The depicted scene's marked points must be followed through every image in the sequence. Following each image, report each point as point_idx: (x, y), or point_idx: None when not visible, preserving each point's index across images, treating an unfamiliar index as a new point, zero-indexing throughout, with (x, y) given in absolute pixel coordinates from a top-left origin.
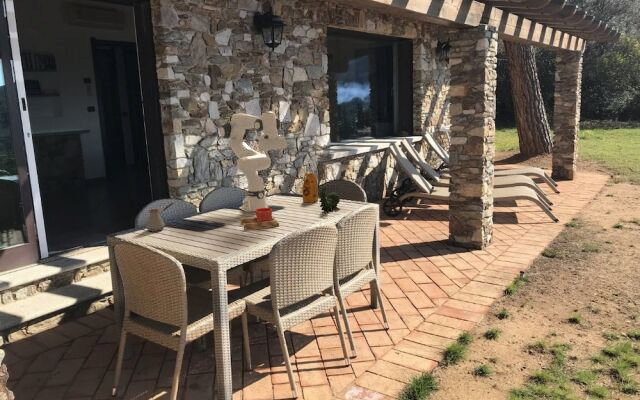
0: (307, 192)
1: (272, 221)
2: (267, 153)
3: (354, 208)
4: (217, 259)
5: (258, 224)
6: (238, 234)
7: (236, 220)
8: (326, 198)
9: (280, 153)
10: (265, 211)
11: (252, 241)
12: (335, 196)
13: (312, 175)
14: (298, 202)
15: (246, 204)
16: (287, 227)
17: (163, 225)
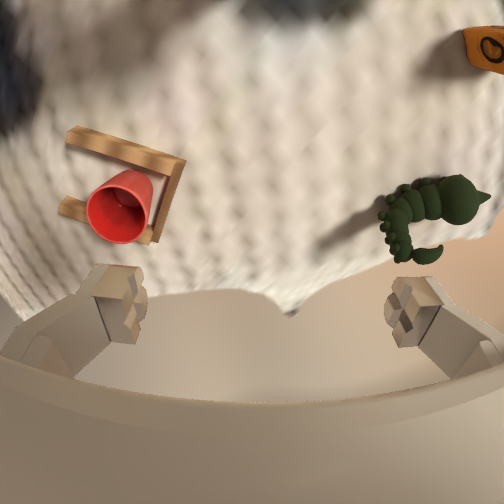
0: (494, 53)
1: (137, 241)
2: (84, 366)
3: (448, 237)
4: (22, 316)
5: None
6: (49, 229)
7: (84, 64)
8: (448, 188)
9: (410, 343)
10: (112, 242)
11: (69, 291)
12: (454, 224)
13: None
14: (451, 13)
15: None
16: (173, 261)
17: None
